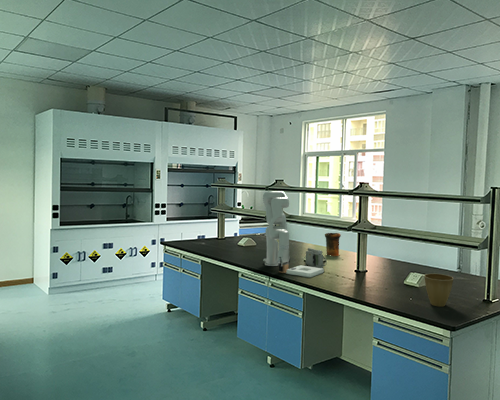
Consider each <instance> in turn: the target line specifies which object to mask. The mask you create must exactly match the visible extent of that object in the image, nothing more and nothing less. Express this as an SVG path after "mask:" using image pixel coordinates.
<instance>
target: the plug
mask: <svg viewBox="0 0 500 400" xmlns="http://www.w3.org/2000/svg"><path fill="white" fill-rule="evenodd" d="M281 264H282V263H281ZM289 265H290V262H289V263H283V265H282V266H283V272H280V271H279V270H278V272H279V273H282V274H286V270H287V269H290V266H289Z"/></svg>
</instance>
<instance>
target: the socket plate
mask: <svg viewBox="0 0 500 400" xmlns="http://www.w3.org/2000/svg"><path fill="white" fill-rule="evenodd" d="M323 273H324V268H317V267H314V266H310V265H308V266H307V265H301V264H300V265H297V266H294V267H291V268H290V267H289V269H287V270H286V273H285V274H287V275H292V276H297V277H303V278H313V277H316V276H318V275H321V274H323Z"/></svg>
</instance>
